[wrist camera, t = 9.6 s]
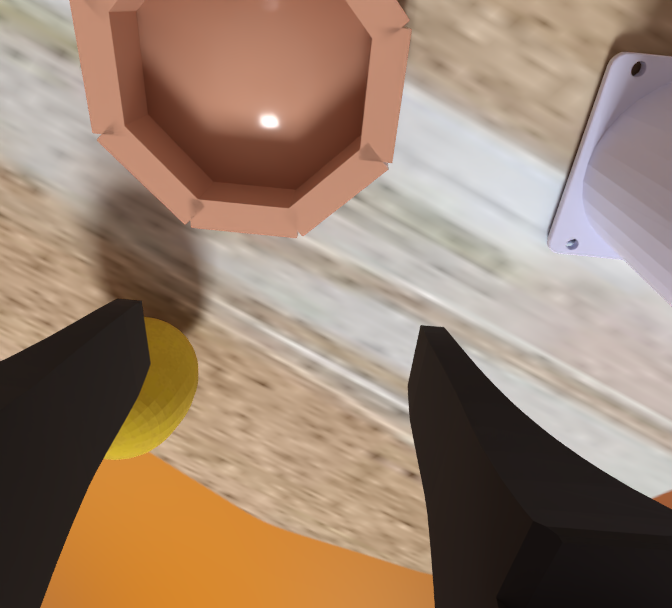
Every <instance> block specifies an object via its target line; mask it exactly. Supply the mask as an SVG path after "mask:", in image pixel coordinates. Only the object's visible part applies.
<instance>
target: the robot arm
mask: <svg viewBox="0 0 672 608" xmlns="http://www.w3.org/2000/svg"><path fill="white" fill-rule="evenodd" d="M639 61H640V63H641V69H640V71H639V72H638V73H637V74H636V75H633V76H632V74H631V68H632V67H633V65H634V64H635V63H637V62H639ZM571 239H575V242H574V244H573V245H571V246H566V244H567V242H568V241H570V240H571ZM547 245H548V247H549V248H550V250H551V251H552V252H555V253H560V254H570V255H580V256H590V257H600V258H610V259H620V260H624V261H625V262H626V263H627V264H628V265H629V266H630V267H631V268H632V269H633V270H634V271H636V272H637V273H638V274H639V275H640V276H641V277H642V278H643V279H644V280H645V281H646V282H647V283H648V284H649V285H650V286H651V287H652V288H653V289H654V290H655V291H656V292H657V293H658V294H659V295H660V296H661V297H662V298H663V299H664V300H665V301H666V302H667V303H668V304H669V305H670V306H671V307H672V56H664V55H654V54H645V53H635V52H620V53H618V54H616V55H615V56H614V57H613V58H612V59H611V60H610V61H609V63H608V65H607V68H606V71H605V74H604V76H603V79H602V82H601V85H600V88H599V91H598V94H597V97H596V100H595V103H594V105H593V108H592V111H591V114H590V117H589V120H588V123H587V126H586V129H585V132H584V134H583V137H582V140H581V143H580V146H579V149H578V152H577V155H576V158H575V160H574V163H573V166H572V169H571V172H570V175H569V178H568V181H567V184H566V187H565V189H564V192H563V195H562V198H561V201H560V204H559V207H558V210H557V213H556V215H555V218H554V221H553V224H552V227H551V230H550V233H549V236H548V239H547ZM150 365H151V361H150V355H149V348H148V341H147V334H146V327H145V321H144V314H143V307H142V301H137V300H126V299H116V300H114V301H112V302H110V303H108V304H106V305H104V306H103V307H101V308H99V309H97V310H95V311H94V312H92V313H90V314H88V315H87V316H85V317H83V318H81V319H80V320H78V321H76V322H74V323H73V324H71V325H69V326H67V327H65V328H64V329H62V330H60V331H58V332H57V333H55V334H53V335H51V336H49V337H48V338H46V339H44V340H42V341H40V342H38V343H36V344H34V345H32V346H30V347H28V348H26V349H24V350H22V351H21V352H19V353H17V354H15V355H13V356H11V357H9V358H7V359H5V360H2V361H0V608H40V607H41V604H42V601H43V598H44V596H45V593H46V591H47V588H48V585H49V582H50V580H51V577H52V574H53V572H54V569H55V566H56V564H57V561H58V559H59V556H60V554H61V551H62V549H63V546H64V544H65V541H66V539H67V536H68V534H69V531H70V529H71V526H72V524H73V521H74V519H75V517H76V514H77V512H78V510H79V508H80V505H81V503H82V500H83V498H84V496H85V494H86V491H87V489H88V487H89V485H90V483H91V481H92V479H93V477H94V475H95V473H96V471H97V469H98V467H99V466H100V464H101V462H102V460H103V458H104V457H105V455H106V453H107V451H108V450H109V448H110V446H111V444H112V443H113V441H114V439H115V437H116V436H117V434H118V432H119V430H120V429H121V427H122V425H123V423H124V422H125V420H126V418H127V416H128V414H129V413H130V411H131V409H132V407H133V405H134V404H135V402H136V400H137V398H138V396H139V393H140V391H141V389H142V386H143V384H144V381H145V378H146V376H147V373H148V370H149V367H150ZM408 400H409V415H410V423H411V428H412V434H413V439H414V444H415V449H416V454H417V459H418V464H419V469H420V474H421V479H422V484H423V489H424V494H425V501H426V507H427V514H428V525H429V536H430V547H431V559H432V572H433V585H434V600H435V608H672V509H670V508H668V507H666V506H664V505H662V504H660V503H659V502H657V501H655V500H653V499H651V498H649V497H647V496H645V495H644V494H642V493H640V492H638V491H636V490H634V489H632V488H630V487H629V486H627V485H625V484H624V483H622V482H620V481H619V480H617V479H615V478H614V477H612V476H610V475H609V474H607V473H605V472H604V471H602V470H600V469H599V468H597V467H596V466H594V465H593V464H591V463H590V462H588V461H587V460H585V459H583V458H582V457H581V456H579V455H578V454H576V453H575V452H573V451H572V450H571V449H569V448H568V447H566V446H565V445H564V444H562V443H561V442H559V441H558V440H557V439H555V438H554V437H553V436H551V435H550V434H549V433H547V432H546V431H545V430H544V429H542V428H541V427H540V426H539V425H538V424H536V423H535V422H534V421H533V420H532V419H530V418H529V417H528V416H527V415H526V414H524V413H523V412H522V411H521V410H520V409H519V408H518V407H517V406H515V405H514V404H513V403H512V402H511V401H510V400H509V399H508V398H507V397H506V396H505V395H504V394H503V393H502V392H501V391H500V390H499V389H498V388H497V387H496V386H495V385H494V384H493V383H492V382H491V381H490V380H489V379H488V378H487V377H486V376H485V374H484V373H483V372H482V371H481V370H480V369H479V368H478V367H477V366H476V364H475V363H474V362H473V361H472V360H471V359H470V358H469V356H468V355H467V354H466V353H465V352H464V350H463V349H462V348H461V347H460V346H459V344H458V343H457V342H456V341H455V340H454V338H453V337H452V336H451V335H450V334H449V332H448V331H447V330H446V329H445V328H444V327H435V326H424V325H421V326H420V331H419V335H418V340H417V345H416V349H415V354H414V359H413V363H412V368H411V373H410V377H409V382H408Z"/></svg>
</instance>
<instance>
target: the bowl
mask: <svg viewBox="0 0 672 608" xmlns="http://www.w3.org/2000/svg"><path fill="white" fill-rule="evenodd" d="M69 1H70V6H71V12H72V18H73V24H74V29H75V35H76V41H77V46H78V52H79V58H80V64H81V69H82V75H83V81H84V86H85V92H86V98H87V104H88V109H89V115H90V121H91V127H92V132H93V133H96V134H101V136H100V137H99V138H98V139H97V141H98V142H99V143H100V144H101V145H102V146H103V147H104V148H105V149H106V150H107V151H108V152H109V153H111V154H112V155H113V156H114V157H115V158H116V159H117V160H118V161H119V162H120V163H121V164H122V165H123V166H124V167H125V168H126V169H127V170H128V171H129V172H130V173H131V174H132V175H133V176H135V177H136V178H137V179H138V180H139V181H140V182H141V183H142V184H143V185H144V186H145V187H146V188H147V189H148V190H149V191H150V192H151V193H152V194H153V195H154V196H155V197H156V198H157V199H159V200H160V201H161V202H162V203H163V204H164V205H165V206H166V207H167V208H168V209H169V210H170V211H171V212H172V213H173V214H174V215H175V216H176V217H177V218H178V219H179V220H180V221H181V222H183V223H184V224H186V223H187V222H189V221H191V228H199V229H209V230H219V231H230V232H240V233H250V234H260V235H270V236H280V237H290V238H297V236H298V232H299V233H300V234H301V235H302V236H304V235H305V234H307V233H308V232H309V231H310V230H312V229H313V228H314V227H316V226H317V225H318V224H319V223H321V222H322V221H323V220H325V219H326V218H327V217H328V216H330V215H331V214H332V213H333V212H335V211H336V210H337V209H339V208H340V207H341V206H342V205H344V204H345V203H346V202H347V201H349V200H350V199H351V198H353V197H354V196H355V195H356V194H358V193H359V192H360V191H361V190H363V189H364V188H365V187H367V186H368V185H369V184H370V183H372V182H373V181H374V180H375V179H377V178H378V177H379V176H381V175H382V174H383V173H384V172H386V171H387V170H388V163H392V161H393V154H394V147H395V140H396V133H397V127H398V120H399V113H400V106H401V99H402V92H403V86H404V79H405V72H406V65H407V58H408V52H409V45H410V38H411V31H412V29H410V28H408V27H405V26H404V25H405V24H406V23H408V22H409V21H410V20H409V18H408V17H407V15H406V14H405V12H404V11H403V9H402V7H401V6H400V4H399V3H398V1H397V0H69Z"/></svg>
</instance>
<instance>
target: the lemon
mask: <svg viewBox="0 0 672 608" xmlns="http://www.w3.org/2000/svg"><path fill="white" fill-rule="evenodd" d="M144 321H145V327H146V334H147V341H148V348H149V355H150V361H151V365H150V367H149V370H148V373H147V376H146V378H145V381H144V384H143V386H142V389H141V391H140V393H139V396H138V398H137V400H136V402H135V404H134V405H133V407H132V409H131V411H130V413H129V414H128V416H127V418H126V420H125V422H124V423H123V425H122V427H121V429H120V430H119V432H118V434H117V436H116V437H115V439H114V441H113V443H112V444H111V446H110V448H109V450H108V451H107V453H106V455H105V457H104V459H113V460H116V459H127V458H132V457H135V456H139V455H142V454H145V453H147V452H149V451H151V450H152V449H154V448H155V447H157V446H158V445H160V444H161V443H162V442H164V441H165V440H166V439H167V438H168V437H169V436H170V434H171V433H172V432H173V431H174V430H175V428H176V427H177V426H178V425H179V424H180V422H181V421H182V420H183V418H184V417H185V415H186V414H187V412H188V410H189V408H190V406H191V403H192V401H193V398H194V395H195V392H196V388H197V384H198V361H197V358H196V355H195V352H194V349H193V347H192V345H191V344H190V342H189V341H188V339H187V338H186V336H185V335H184V334H183V333H182V332H180V331H179V330H178V329H177V328H176V327H174V326H172V325H171V324H169V323H167V322H165V321H162V320H160V319H155V318H150V317H144Z"/></svg>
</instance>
